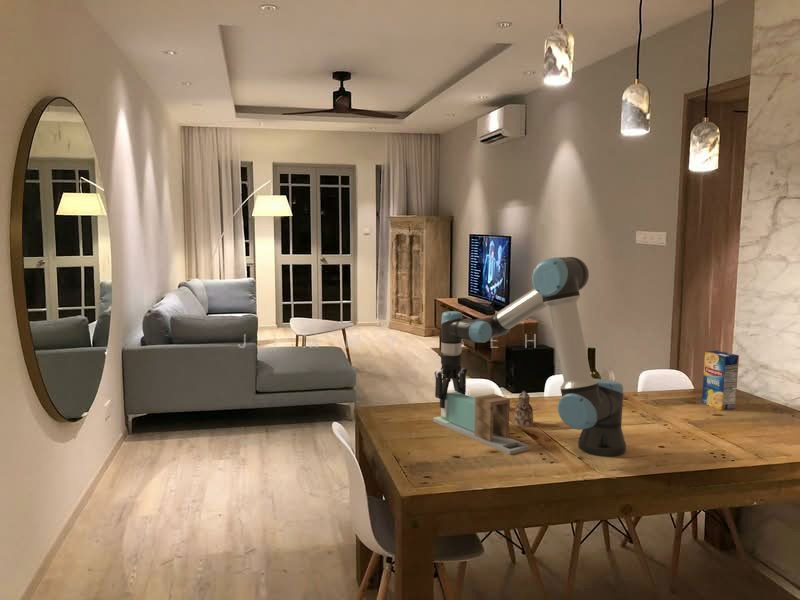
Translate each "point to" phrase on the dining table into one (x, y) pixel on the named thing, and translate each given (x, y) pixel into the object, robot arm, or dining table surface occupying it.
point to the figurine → (523, 411)
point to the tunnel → (491, 416)
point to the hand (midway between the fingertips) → (450, 414)
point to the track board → (498, 442)
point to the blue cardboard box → (720, 379)
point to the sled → (460, 410)
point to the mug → (479, 392)
